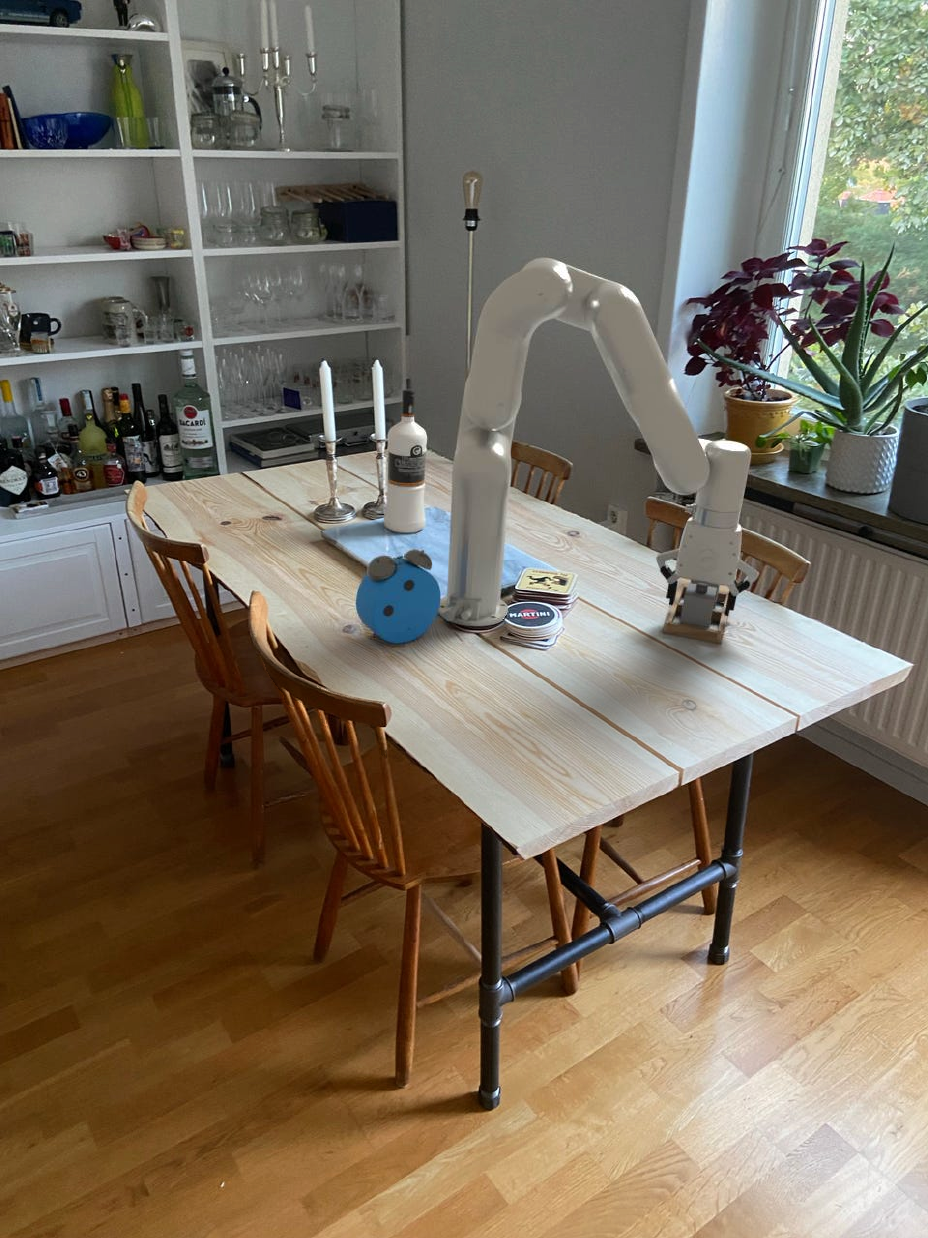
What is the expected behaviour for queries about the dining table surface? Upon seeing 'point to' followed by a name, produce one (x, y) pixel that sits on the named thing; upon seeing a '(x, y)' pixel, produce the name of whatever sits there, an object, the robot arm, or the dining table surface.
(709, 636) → the wooden crate frame
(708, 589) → the plug
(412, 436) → the vodka
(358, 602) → the alarm clock
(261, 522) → the dining table surface
